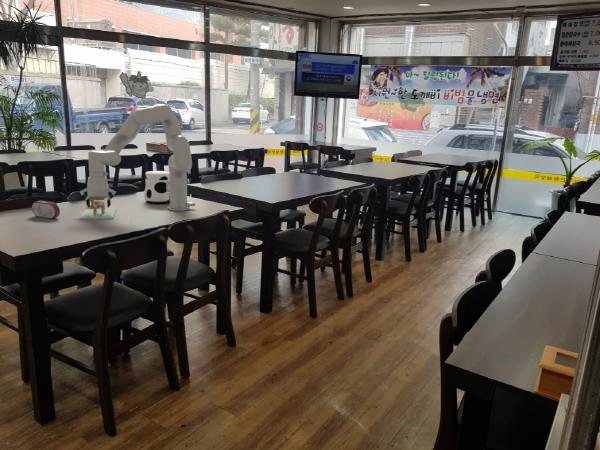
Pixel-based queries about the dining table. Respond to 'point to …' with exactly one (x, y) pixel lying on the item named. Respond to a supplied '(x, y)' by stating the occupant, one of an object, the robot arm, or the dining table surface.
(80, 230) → the dining table surface
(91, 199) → the squeeze bottle
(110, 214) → the mat
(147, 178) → the milk container
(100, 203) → the stool
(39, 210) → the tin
